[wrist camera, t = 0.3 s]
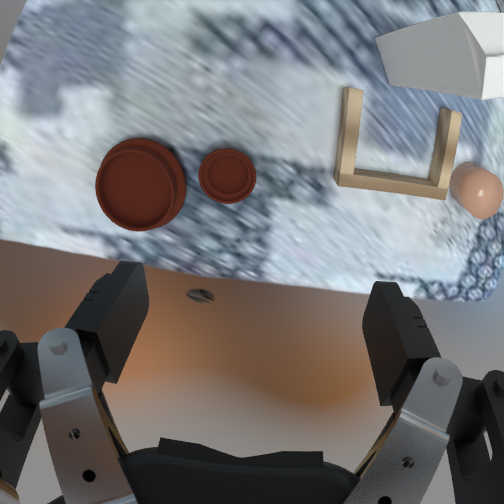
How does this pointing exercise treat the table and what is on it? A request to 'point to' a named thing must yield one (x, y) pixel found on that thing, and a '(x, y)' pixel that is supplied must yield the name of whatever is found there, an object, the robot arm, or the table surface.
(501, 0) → the hard drive box
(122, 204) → the pottery
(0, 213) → the table surface
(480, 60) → the milk
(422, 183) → the display frame
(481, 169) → the peach rounded capsule
